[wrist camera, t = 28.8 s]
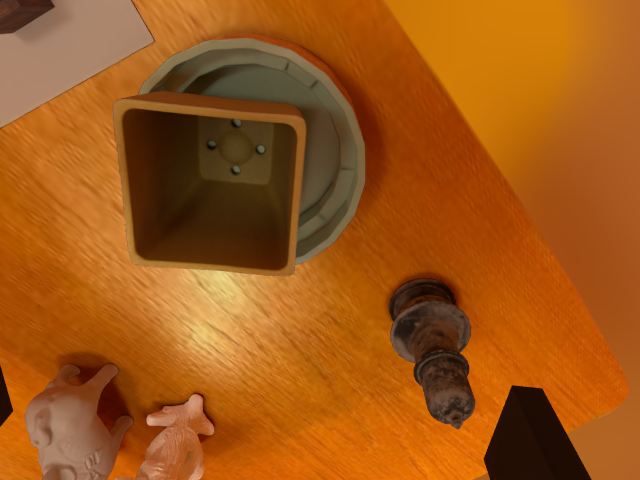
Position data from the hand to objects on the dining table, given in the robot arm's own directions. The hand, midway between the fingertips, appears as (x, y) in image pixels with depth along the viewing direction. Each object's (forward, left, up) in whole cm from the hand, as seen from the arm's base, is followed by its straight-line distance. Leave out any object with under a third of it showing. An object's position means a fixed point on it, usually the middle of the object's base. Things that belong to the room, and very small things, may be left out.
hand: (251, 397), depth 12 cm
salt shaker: (-15, 0, -22) cm, 27 cm away
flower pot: (+3, +3, -21) cm, 22 cm away
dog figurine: (-7, +30, -22) cm, 38 cm away
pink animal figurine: (-13, +25, -22) cm, 36 cm away
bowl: (+2, +2, -22) cm, 22 cm away
